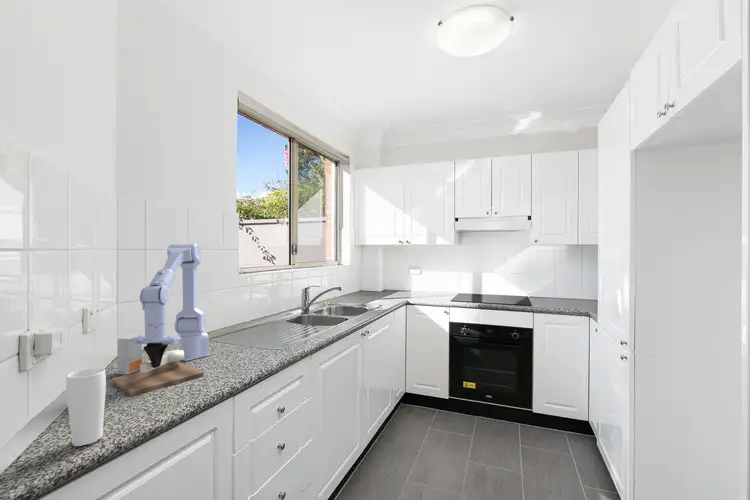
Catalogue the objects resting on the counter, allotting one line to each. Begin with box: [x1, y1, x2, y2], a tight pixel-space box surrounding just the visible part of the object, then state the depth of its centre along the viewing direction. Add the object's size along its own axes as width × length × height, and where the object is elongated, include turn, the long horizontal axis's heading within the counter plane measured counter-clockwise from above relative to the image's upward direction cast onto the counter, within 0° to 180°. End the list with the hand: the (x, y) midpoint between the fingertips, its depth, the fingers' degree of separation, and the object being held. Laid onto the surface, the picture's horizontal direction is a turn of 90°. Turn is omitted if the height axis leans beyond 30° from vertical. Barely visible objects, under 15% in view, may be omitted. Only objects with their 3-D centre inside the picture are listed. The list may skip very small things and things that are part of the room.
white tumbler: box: [65, 367, 107, 447], centre depth 79 cm, size 7×7×15 cm
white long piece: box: [139, 349, 184, 373], centre depth 121 cm, size 16×7×3 cm, turn 171°
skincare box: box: [116, 334, 143, 375], centre depth 125 cm, size 6×4×12 cm
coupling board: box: [111, 361, 205, 397], centre depth 118 cm, size 20×18×4 cm
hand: (156, 366), depth 115 cm, fingers closed
